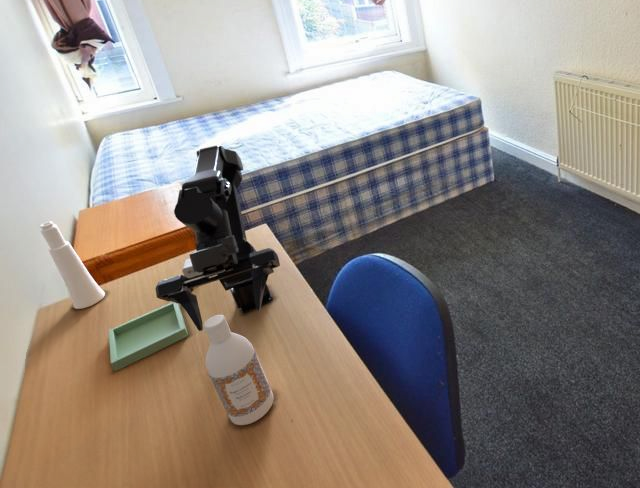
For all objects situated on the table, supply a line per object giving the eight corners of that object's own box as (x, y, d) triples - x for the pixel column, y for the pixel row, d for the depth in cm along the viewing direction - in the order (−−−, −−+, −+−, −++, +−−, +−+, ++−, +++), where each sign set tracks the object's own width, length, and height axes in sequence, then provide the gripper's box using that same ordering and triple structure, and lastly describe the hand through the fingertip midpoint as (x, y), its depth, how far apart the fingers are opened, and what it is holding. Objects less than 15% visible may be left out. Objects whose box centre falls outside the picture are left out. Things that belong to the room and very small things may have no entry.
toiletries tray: (179, 307, 109) (176, 300, 108) (188, 336, 100) (184, 328, 99) (112, 337, 101) (108, 330, 100) (115, 371, 92) (110, 363, 91)
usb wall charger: (187, 282, 117) (181, 269, 116) (191, 267, 123) (185, 254, 122) (205, 276, 119) (199, 263, 117) (208, 262, 125) (203, 249, 123)
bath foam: (232, 435, 77) (188, 345, 69) (229, 405, 83) (188, 318, 75) (277, 411, 81) (240, 323, 73) (271, 384, 86) (236, 299, 78)
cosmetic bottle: (73, 313, 110) (26, 234, 101) (74, 300, 114) (30, 224, 106) (105, 300, 113) (62, 223, 105) (105, 288, 118) (64, 213, 109)
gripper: (135, 244, 77) (148, 338, 72) (259, 210, 84) (278, 294, 79) (162, 258, 87) (175, 342, 82) (271, 227, 94) (289, 302, 89)
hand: (230, 320), depth 83 cm, fingers open, 9 cm apart
